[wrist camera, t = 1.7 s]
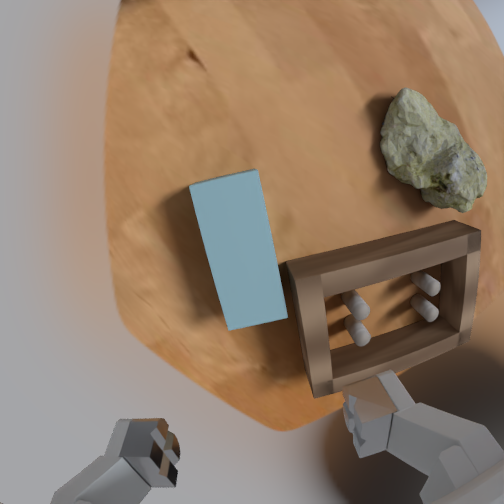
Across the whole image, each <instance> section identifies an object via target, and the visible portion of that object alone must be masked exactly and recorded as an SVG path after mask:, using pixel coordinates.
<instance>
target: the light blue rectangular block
mask: <svg viewBox="0 0 504 504" xmlns="http://www.w3.org/2000/svg"><path fill="white" fill-rule="evenodd" d="M189 188H190V192H191V196H192V200H193V204H194V208H195V212H196V216H197V220H198V224H199V228H200V231H201V235H202V239H203V243H204V246H205V250H206V254H207V257H208V261H209V265H210V268H211V272H212V275H213V279H214V282H215V286H216V289H217V293H218V296H219V300H220V303H221V306H222V310H223V313H224V317H225V320H226V323H227V327H228V330H234V329H239V328H244V327H248V326H253V325H258V324H262V323H267V322H271V321H276V320H280V319H285V318H288V315H287V310H286V305H285V300H284V294H283V289H282V284H281V279H280V274H279V269H278V264H277V259H276V254H275V249H274V244H273V240H272V235H271V230H270V225H269V220H268V216H267V211H266V206H265V201H264V197H263V192H262V187H261V183H260V178H259V174H258V170H256V169H251V170H246V171H242V172H237V173H233V174H229V175H224V176H220V177H216V178H212V179H208V180H204V181H200V182H196V183H194V184H192V185H190V186H189Z"/></svg>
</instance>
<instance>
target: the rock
mask: <svg viewBox="0 0 504 504" xmlns="http://www.w3.org/2000/svg"><path fill="white" fill-rule="evenodd" d="M392 98H393V97H392ZM384 119H385V121H384V122H383V123H382V125H383V127H382V129H381V132H380V133H381V135H382V139H381V142H380V148H381V152H382V154H383V155H384V157H385V160H386V165H387V170H388V172H389V173H390V174H391V175H393V176H394V177H395V178H396V179H398V180H400V181H401V182H402V183H407V184H411V185H412V186H413V187H414V188H417V189H419V188H420V189H421V194H422V198H423V200H424V201H425V202H430V203H431V204H432V205H434V206H435V207H438V208H441V209H443V208H449V207H451V208H454V209H456V210H458V211H459V212H462V213H464V212H467V211H469V210H471V209H472V204H473V203H474V200H475V199H476V198H480V197H481V196H483V193H484V191H485V189H486V187H487V173H486V170H485V167H484V164H483V162H482V161H481V159H480V158H479V156H478V155H477V154H476V153H475V152H474V151H473V150H472V149H471V148H470V146H469V145H468V144H467V143H466V142H464V140H463V138H462V136H461V135H460V133H459V130H458V128H457V127H456V125H455V124H453V123H450V122H449V121H447V120H444V119H442V118H441V117H439V116H438V114H437V112H436V111H435V109H434V108H433V107H432V105H431V104H430V103H429V102H427V100H426V98H425V97H424V96H423V95H421V94H420V93H418V92H416V91H414V90H411V89H409V88H403V89H401V90H400V92H399V93H398V94H397V96H396V97H395V98H393V100H392V102H391V104H390V106H389V108H388V112H387V113H386V116H385V118H384Z"/></svg>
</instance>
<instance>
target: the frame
mask: <svg viewBox="0 0 504 504" xmlns="http://www.w3.org/2000/svg"><path fill="white" fill-rule="evenodd" d="M480 248H481V230H479V229H476V228H474V227H471V226H469V225H466V224H463V223H461V222H458V221H455V220H453V221H449V222H445V223H441V224H437V225H433V226H430V227H426V228H422V229H418V230H414V231H410V232H406V233H402V234H398V235H394V236H390V237H386V238H381V239H377V240H373V241H369V242H365V243H361V244H357V245H353V246H349V247H344V248H340V249H336V250H332V251H328V252H323V253H319V254H315V255H311V256H306V257H302V258H298V259H294V260H289V261H286V265H287V270H288V276H289V281H290V286H291V292H292V297H293V303H294V308H295V314H296V319H297V325H298V330H299V336H300V342H301V348H302V354H303V360H304V366H305V371H306V375H307V378H308V381H309V384H310V387H311V390H312V393H313V397H314V398H318V397H322V396H326V395H329V394H333V393H337V392H340V391H343V390H342V389H343V385H346V384H350V383H353V382H356V381H359V380H362V379H365V378H368V377H371V376H375V375H377V374H380V373H382V372H385V371H388V370H392V371H393V372H394V373H397V372H400V371H402V370H405V369H407V368H410V367H412V366H415V365H417V364H419V363H422V362H424V361H427V360H429V359H431V358H434V357H436V356H438V355H440V354H443V353H445V352H447V351H449V350H451V349H453V348H455V347H457V346H459V345H462V344H464V343H466V342H468V341H469V340H470V334H471V329H472V323H473V318H474V311H475V304H476V296H477V288H478V278H479V266H480ZM438 264H441V285H440V282H438V281H437V280H436V279H434V278H433V277H431V276H430V275H428V274H427V273H425V272H424V271H422V269H425V268H428V267H431V266H435V265H438ZM409 273H412V274H411V281H412V282H413V283H414V284H416V285H417V286H418V287H420V288H421V289H422V290H423V291H425V292H426V293H427V294H428V295H430V296H435V295H436V294H437V293H438V292H439V290H440V303H439V311H438V309H437V308H436V307H435V306H434V305H432V304H431V303H430V302H429V301H428V300H426V299H425V298H424V297H423V296H422V295H420V294H415V295H414V296H413V297H412V298H411V301H410V304H411V306H412V307H413V308H414V309H415V310H416V311H417V312H419V313H420V314H421V315H422V316H423V317H424V318H425V320H422V321H419V322H417V323H414V324H411V325H408V326H406V327H403V328H400V329H397V330H394V331H391V332H388V333H385V334H382V335H379V336H376V337H373V338H371V335H370V334H369V332H368V331H367V329H366V328H365V327H364V325H363V324H362V322H361V321H360V320H363V319H365V318H366V317H367V316H368V315H369V313H370V308H369V306H368V305H367V304H366V303H365V301H364V300H363V299H362V298H361V297H360V296H359V294H358V293H357V292H356V291H355V290H354V289H358V288H361V287H365V286H368V285H372V284H375V283H379V282H382V281H386V280H389V279H393V278H396V277H399V276H403V275H406V274H409ZM440 287H441V288H440ZM339 293H342V295H341V299H342V301H343V302H344V304H345V305H346V306H347V308H348V309H349V311H350V312H351V313H352V314H351V315H348V316H347V317H346V318H345V319H344V326H345V327H346V329H347V331H348V332H349V334H350V335H351V337H352V339H353V340H354V342H355V343H354V344H350V345H347V346H344V347H340V348H337V349H333V350H330V346H329V337H328V328H327V320H326V311H325V303H324V297H327V296H331V295H335V294H339Z"/></svg>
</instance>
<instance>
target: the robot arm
mask: <svg viewBox="0 0 504 504" xmlns="http://www.w3.org/2000/svg"><path fill="white" fill-rule="evenodd" d="M342 390H343V397H344V399H345V402H344V404H343V410H344V416H345V421H346V424H347V427H348V429H349V431H350V432H351V433H353V443H354V445H355V447H356V450H357V453H358V455H359V458H362V457H365V456H369V455H372V454H375V453H378V452H381V451H383V450H386V449H387V451H388V452H390V453H392V454H393V455H395V456H396V457H398V458H400V459H401V460H403V461H404V462H406V463H408V464H409V465H411V466H413V467H414V468H416V469H418V470H419V471H421V472H423V473H424V474H426V475H428V476H429V478H428V480H427V482H426V483H425V485H424V487H423V489H422V491H421V493H420V496H421V498H422V500H423V503H424V504H504V451H503V450H502V449H501V447H500V446H499V444H498V443H497V442H496V440H495V439H494V438H493V436H492V435H491V434H490V432H489V431H488V430H487V428H486V427H485V426H484V425H481V424H477V423H475V422H472V421H469V420H466V419H463V418H460V417H457V416H455V415H452V414H449V413H446V412H444V411H441V410H438V409H436V408H433V407H430V406H428V405H425V404H423V403H418V404H415V403H414V401H413V400H412V398H411V397H410V395H409V394H408V392H407V391H406V389H405V388H404V386H403V385H402V383H401V382H400V380H399V379H398V377H397V376H396V374H395V373H394V372H393V371H392V370H388V371H385V372H382V373H380V374H377V375H375V376H371V377H368V378H365V379H362V380H359V381H356V382H353V383H350V384H346V385H343V389H342ZM168 426H169V425H168V424H167V422H166V421H165V419H162V418H153V419H119V420H118V421H117V422H116V425H115V428H114V430H113V433H112V436H111V438H110V441H109V444H108V447H107V449H106V452H105V455H104V456H100V457H98V458H97V459H96V460H95V461H94V462H92V463H91V464H90V465H89V466H88V467H86V468H85V469H84V470H82V471H81V472H80V473H79V474H77V475H76V476H75V477H74V478H72V479H71V480H70V481H69V482H67V483H66V484H65V485H64V486H62V487H61V488H60V489H58V490H57V491H56V492H55V493H54V495H53V498H52V501H51V504H139V503H140V502H141V501H142V500H143V499H144V497H145V496H146V495H147V494H148V492H149V491H150V490H151V487H176V481H177V474H178V470H177V469H176V468H175V466H174V465H175V464H176V463H177V462H178V461H179V459H180V447H179V443H178V440H177V438H176V436H175V435H174V434H173V433H171V432H169V431H168ZM0 504H3V503H1V502H0Z"/></svg>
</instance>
